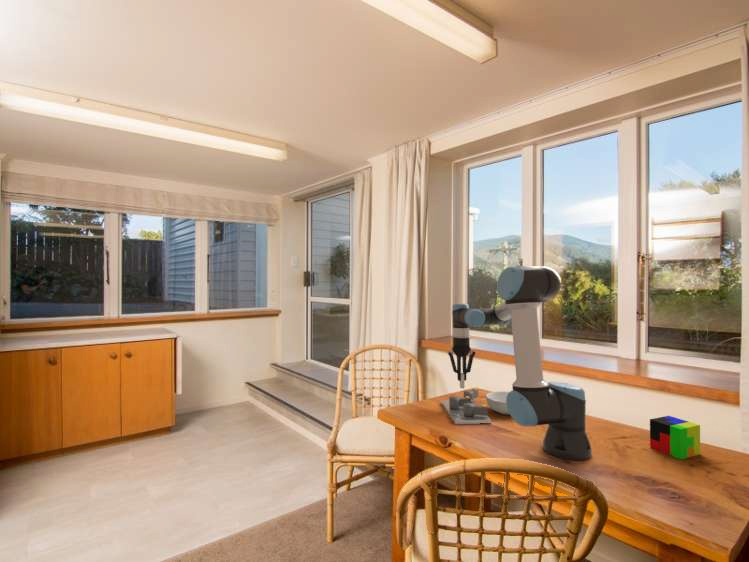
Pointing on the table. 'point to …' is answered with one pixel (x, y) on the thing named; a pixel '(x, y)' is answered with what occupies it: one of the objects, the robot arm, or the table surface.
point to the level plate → (459, 415)
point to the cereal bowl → (498, 401)
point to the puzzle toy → (675, 436)
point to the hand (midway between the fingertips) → (462, 387)
